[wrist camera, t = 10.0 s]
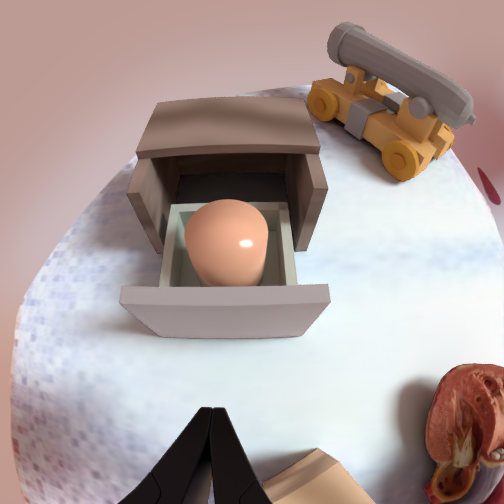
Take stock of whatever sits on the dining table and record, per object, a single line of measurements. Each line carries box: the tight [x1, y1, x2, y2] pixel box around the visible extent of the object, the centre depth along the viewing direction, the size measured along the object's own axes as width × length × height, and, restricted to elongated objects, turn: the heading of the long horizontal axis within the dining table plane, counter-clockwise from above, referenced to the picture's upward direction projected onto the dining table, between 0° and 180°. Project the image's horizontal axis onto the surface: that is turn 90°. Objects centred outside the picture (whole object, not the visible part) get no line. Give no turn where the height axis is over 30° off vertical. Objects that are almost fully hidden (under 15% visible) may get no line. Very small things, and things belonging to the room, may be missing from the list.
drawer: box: [119, 202, 331, 339], centre depth 19 cm, size 10×11×8 cm
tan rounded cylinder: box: [184, 199, 268, 287], centre depth 19 cm, size 5×5×6 cm
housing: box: [126, 97, 328, 253], centre depth 23 cm, size 11×14×9 cm
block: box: [263, 448, 376, 504], centre depth 12 cm, size 5×5×5 cm
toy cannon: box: [308, 22, 476, 181], centre depth 29 cm, size 16×22×15 cm
